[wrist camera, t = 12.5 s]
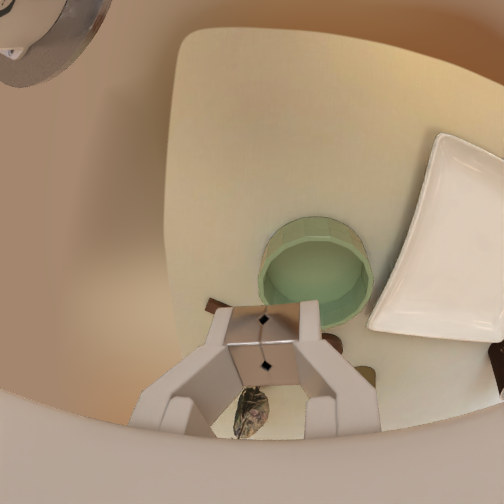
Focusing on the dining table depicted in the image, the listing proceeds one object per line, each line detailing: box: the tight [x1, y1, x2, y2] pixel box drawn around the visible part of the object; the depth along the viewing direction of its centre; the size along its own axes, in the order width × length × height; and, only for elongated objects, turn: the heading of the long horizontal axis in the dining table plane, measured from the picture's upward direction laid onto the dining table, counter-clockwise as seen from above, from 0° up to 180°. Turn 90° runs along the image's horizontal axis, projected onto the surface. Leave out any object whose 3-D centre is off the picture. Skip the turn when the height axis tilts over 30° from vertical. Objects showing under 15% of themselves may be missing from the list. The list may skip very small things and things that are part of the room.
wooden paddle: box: [205, 298, 343, 355], centre depth 46 cm, size 22×6×1 cm, turn 67°
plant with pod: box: [231, 386, 269, 439], centre depth 43 cm, size 8×11×20 cm
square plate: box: [366, 133, 504, 343], centre depth 33 cm, size 27×27×4 cm
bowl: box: [258, 217, 374, 330], centre depth 37 cm, size 13×13×5 cm
